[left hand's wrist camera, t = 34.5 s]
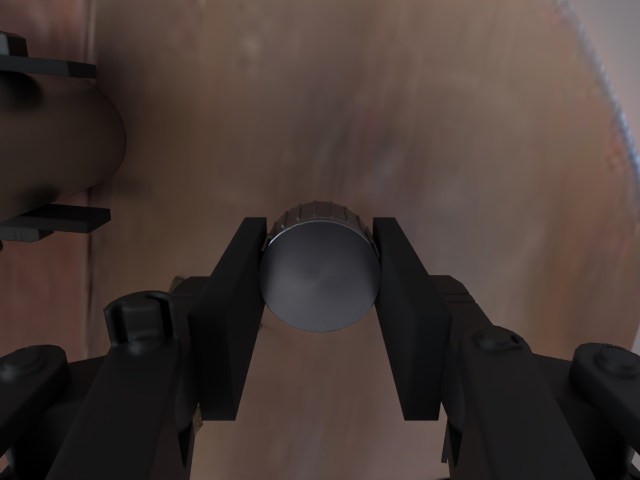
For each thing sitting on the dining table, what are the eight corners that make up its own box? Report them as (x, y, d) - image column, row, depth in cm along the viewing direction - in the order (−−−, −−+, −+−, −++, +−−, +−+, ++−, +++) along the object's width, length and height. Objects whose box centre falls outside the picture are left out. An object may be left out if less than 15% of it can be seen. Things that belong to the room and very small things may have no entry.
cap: (242, 260, 14) (230, 288, 12) (310, 176, 13) (308, 191, 11) (327, 319, 15) (328, 354, 13) (397, 244, 14) (410, 270, 12)
